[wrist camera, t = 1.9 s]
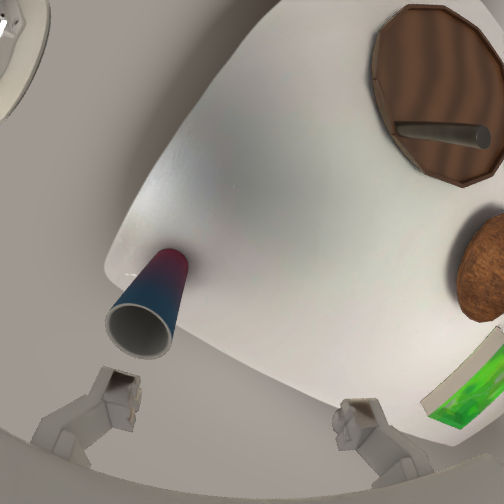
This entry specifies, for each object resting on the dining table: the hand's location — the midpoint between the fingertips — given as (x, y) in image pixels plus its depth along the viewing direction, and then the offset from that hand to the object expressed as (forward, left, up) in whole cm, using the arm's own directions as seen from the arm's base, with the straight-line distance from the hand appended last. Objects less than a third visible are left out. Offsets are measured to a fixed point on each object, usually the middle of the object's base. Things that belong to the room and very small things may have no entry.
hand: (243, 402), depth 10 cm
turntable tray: (-9, +33, -27) cm, 43 cm away
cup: (+4, -12, -29) cm, 32 cm away
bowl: (+21, +38, -29) cm, 52 cm away
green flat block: (+58, +42, -29) cm, 77 cm away
